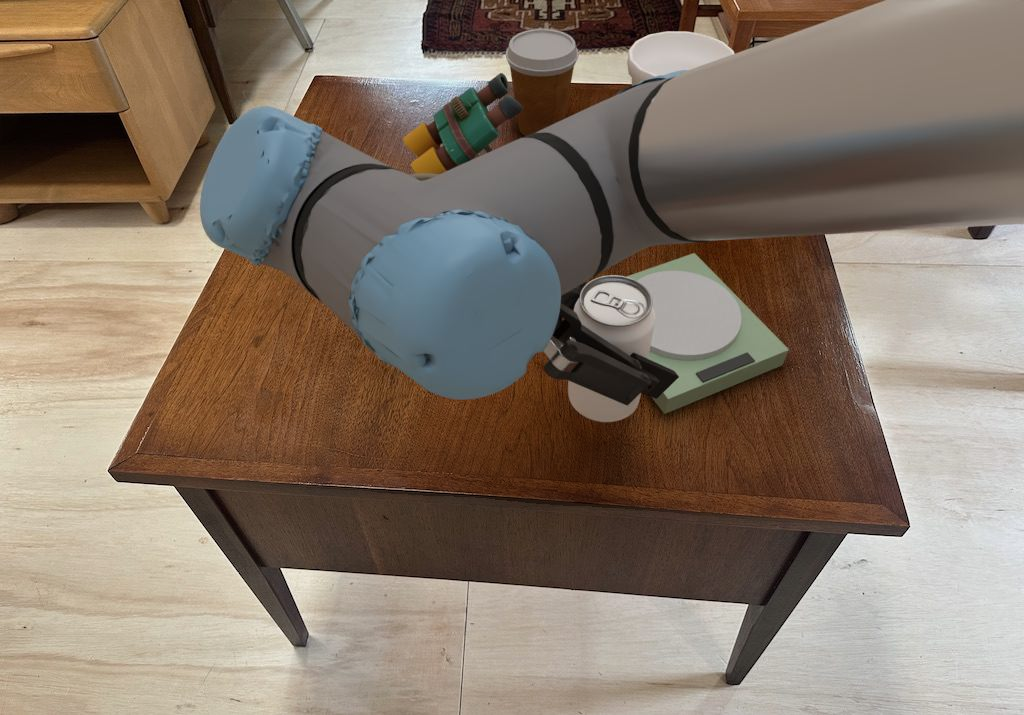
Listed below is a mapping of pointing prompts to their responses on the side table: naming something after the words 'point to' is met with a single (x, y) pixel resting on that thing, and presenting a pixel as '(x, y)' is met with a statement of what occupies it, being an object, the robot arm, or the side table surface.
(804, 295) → the side table surface
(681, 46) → the cup
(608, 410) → the can
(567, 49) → the disposable coffee cup
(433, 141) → the binoculars
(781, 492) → the side table surface
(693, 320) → the scale
